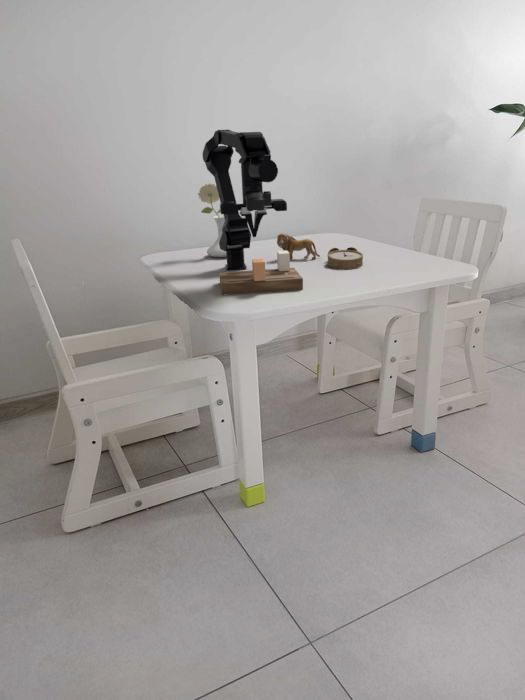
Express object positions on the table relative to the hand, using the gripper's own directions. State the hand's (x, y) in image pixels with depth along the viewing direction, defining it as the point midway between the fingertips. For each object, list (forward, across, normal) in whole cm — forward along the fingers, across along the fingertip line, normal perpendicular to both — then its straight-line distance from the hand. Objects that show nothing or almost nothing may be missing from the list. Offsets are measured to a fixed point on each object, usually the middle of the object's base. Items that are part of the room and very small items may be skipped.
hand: (254, 237), depth 147 cm
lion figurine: (+12, +17, +21) cm, 30 cm away
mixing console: (+12, 0, -10) cm, 16 cm away
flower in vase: (+12, -9, +34) cm, 37 cm away
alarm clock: (+12, +30, +10) cm, 34 cm away
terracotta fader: (+9, -1, -15) cm, 17 cm away
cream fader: (+9, +7, -6) cm, 13 cm away
